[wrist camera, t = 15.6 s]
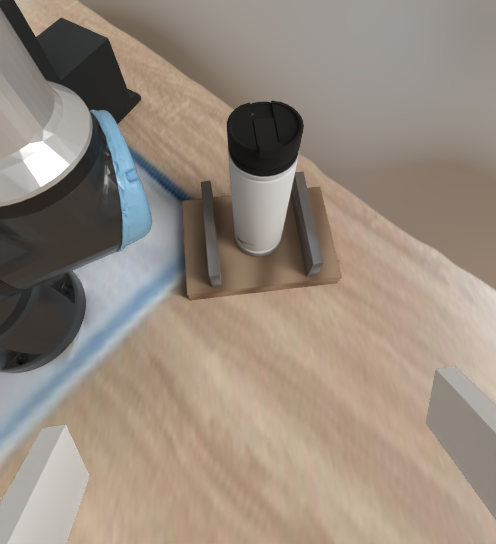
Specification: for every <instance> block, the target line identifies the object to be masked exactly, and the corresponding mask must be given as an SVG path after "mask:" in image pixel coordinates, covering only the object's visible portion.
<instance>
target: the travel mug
mask: <svg viewBox="0 0 496 544" xmlns="http://www.w3.org/2000/svg"><path fill="white" fill-rule="evenodd" d="M303 127H304V125H303V120H302V118H301V116H300V114H298V112H297V111H296V110H295V109H294V108H292V107H290V106H289V105H287V104H285V103H282V102H276V101H271V103H270V102H256V103H252V104H250V103H247V104H244V105H241V106H239V107H238V108H236V109H235V110H234V111H233V112H232V113H231V114H230V116H229V118H228V121H227V136H228V155H229V170H230V182H231V195H232V207H233V220H234V232H235V240H236V243H237V245H238V247H239V248H240V249H241V250H242V251H243V252H244V253H246V254H248V255H251V256H255V257H261V256H266V255H269V254H271V253H272V252H274V251H275V250H276V249H277V247H278V246H279V244H280V241H281V236H282V232H283V227H284V222H285V218H286V213H287V208H288V203H289V198H290V194H291V189H292V184H293V179H294V175H295V170H296V165H297V160H298V156H299V147H300V143H301V138H302V133H303Z"/></svg>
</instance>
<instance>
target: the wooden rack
mask: <svg viewBox="0 0 496 544" xmlns="http://www.w3.org/2000/svg"><path fill="white" fill-rule="evenodd" d="M201 188H202V199H194V200H185V201H182V215H183V232H184V249H185V266H186V284H187V295H188V297H189V299H190V300H196V299H205V298H213V297H222V296H230V295H239V294H248V293H256V292H265V291H273V290H282V289H290V288H299V287H308V286H316V285H325V284H333V283H337V282H338V281H339V280H340V278H341V277H342V276H341V272H340V268H339V263H338V259H337V255H336V251H335V247H334V243H333V238H332V234H331V230H330V226H329V222H328V218H327V214H326V209H325V205H324V201H323V197H322V193H321V189H320V187H312V188H307V186H306V181H305V177H304V172H295V175H294V179H293V184H292V189H291V194H290V198H289V203H288V208H287V213H286V218H285V222H284V227H283V232H282V236H281V241H280V244H279V246H278V247H277V249H276V250H275V251H274V252H272V253H271V254H269V255H266V256H261V257H255V256H251V255H248V254H246V253H244V252H243V251H242V250H241V249H240V248H239V247H238V245H237V243H236V240H235V232H234V220H233V207H232V196H224V197H214V198H213V194H212V188H211V182H210V181H204V182H201Z"/></svg>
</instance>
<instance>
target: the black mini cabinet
mask: <svg viewBox="0 0 496 544" xmlns="http://www.w3.org/2000/svg"><path fill="white" fill-rule="evenodd" d="M0 8H1V10H2V12H3V13H4V15H5V16H6V18H7V20H8V21H9V23H10V24H11V26H12V28H13V29H14V31H15V32H16V34H17V35H18V37H19V39H20V40H21V42H22V43H23V45H24V47H25V48H26V50H27V51H28V53H29V55H30V56H31V58H32V59H33V61H34V62H35V64H36V66H37V67H38V69H39V70H40V72H41V74H42V75H43V77H44V78H45V80H47V81H50V82H54V83H57V84H60V85H62V86H65V87H67V88H69V89H70V90H72V91H73V92H75V93H76V94H77V95H78V96H79V97H80V98H81V99H82V100H83V102H84V103H85V104H86V106H87V108H88V109H89V111H91V110H97V111H99V110H106V111H108V112H109V113H110V114H111V115H112V117H113V118H114V119H115V121H116V123H117V124H118V123H119V122H120V121H121V120H122V119H123V118H124V117H125V116H126V115H127V114H128V113H129V112H130V111H131V109H132V108H133V107H134V106H136V104H137V103H138V102H139V101H140V100H141V96H140V95H139V94H138V93H136V92H133V91H131V90H129V89H127V87H126V84H125V82H124V79H123V76H122V74H121V71H120V68H119V65H118V63H117V60H116V57H115V55H114V52H113V50H112V47H111V44H110V42H109V40H108V38H106V37H104V36H102V35H99V34H97V33H95V32H92V31H90V30H88V29H86V28H83V27H81V26H79V25H77V24H75V23H72V22H70V21H68V20H66V19H63V18H60V19H59V20H57V21H56V22H55V23H54V24H52V25H51V26H50V27H48V28H47V29H46V30H45V31H43V32H42V33H41V34H40V35H38V36H37V37H35V35H34V33H33V32H32V30H31V28H30V26H29V25H28V23H27V21H26V19H25V18H24V16H23V14H22V13H21V11H20V9H19V8H18V6H17V4H16V3H15V1H14V0H0Z"/></svg>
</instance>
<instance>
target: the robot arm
mask: <svg viewBox="0 0 496 544" xmlns="http://www.w3.org/2000/svg"><path fill="white" fill-rule="evenodd" d="M151 226H152V216H151V212H150V208H149V204H148V201H147V198H146V195H145V192H144V189H143V186H142V183H141V181H140V178H139V176H138V175H137V174H136V168H135V166H134V163H133V159H132V157H131V154H130V152H129V149H128V147H127V145H126V142H125V140H124V138H123V136H122V133H121V131H120V129H119V127H118V125H117V123H116V121H115V119H114V118H113V117H112V115H111V114H110V113H109V112H108V111H106V110H99V111H97V110H91V111H89V109H88V108H87V106H86V104H85V103H84V102H83V100H82V99H81V98H80V97H79V96H78V95H77V94H76V93H75V92H73V91H72V90H70V89H69V88H67V87H65V86H62V85H60V84H57V83H54V82H50V81H47V80H45V78H44V77H43V75H42V74H41V72H40V70H39V69H38V67H37V66H36V64H35V62H34V61H33V59H32V58H31V56H30V55H29V53H28V51H27V50H26V48H25V47H24V45H23V43H22V42H21V40H20V39H19V37H18V35H17V34H16V32H15V31H14V29H13V28H12V26H11V24H10V23H9V21H8V20H7V18H6V16H5V15H4V13H3V12H2V10H1V8H0V372H4V373H20V372H26V371H30V370H33V369H36V368H38V367H41V366H43V365H45V364H47V363H48V362H50V361H52V360H53V359H54V358H56V357H57V356H58V355H60V354H61V353H62V352H63V351H64V350H65V349H66V348H67V347H68V346H69V344H70V343H71V342H72V341H73V339H74V338H75V336H76V335H77V333H78V331H79V329H80V327H81V324H82V322H83V319H84V315H85V308H86V298H85V292H84V289H83V286H82V284H81V282H80V280H79V278H78V277H77V276H76V274H75V273H74V272H73V271H72V270H75V269H77V268H79V267H82V266H84V265H86V264H89V263H91V262H93V261H96V260H98V259H100V258H103V257H105V256H107V255H110V254H112V253H115V252H119V251H122V250H123V249H124V248H125V247H126V246H127V245H129V244H131V243H133V242H135V241H137V240H139V239H141V238H143V237H144V236H146V235H147V234H148V233H149V231H150V229H151ZM426 424H427V426H428V427H429V428H430V430H431V431H432V432H433V434H434V435H435V437H436V438H437V439H438V441H439V442H440V443H441V445H442V446H443V448H444V449H445V450H446V452H447V453H448V455H449V456H450V457H451V459H452V460H453V461H454V463H455V464H456V466H457V467H458V468H459V470H460V471H461V472H462V474H463V475H464V477H465V478H466V479H467V481H468V482H469V483H470V485H471V486H472V488H473V489H474V490H475V492H476V493H477V494H478V496H479V497H480V499H481V500H482V501H483V503H484V504H485V506H486V507H487V508H488V510H489V511H490V512H491V514H492V515H493V517H494V518H495V519H496V404H495V403H494V402H493V401H492V400H491V399H490V398H489V397H488V396H487V395H486V394H485V393H484V392H483V391H481V390H480V389H479V388H478V387H477V386H476V385H475V384H474V383H473V382H472V381H471V380H470V379H469V378H468V377H467V376H466V375H465V374H464V373H463V372H462V371H461V370H460V369H459V368H458V367H457V366H451V367H445V368H438V369H436V371H435V376H434V382H433V387H432V392H431V397H430V402H429V407H428V413H427V418H426ZM89 477H90V476H89V474H88V472H87V470H86V467H85V465H84V463H83V461H82V459H81V457H80V454H79V452H78V450H77V448H76V446H75V444H74V441H73V439H72V437H71V435H70V433H69V431H68V428H67V426H66V424H65V425H58V426H52V427H45V428H42V430H41V431H40V433H39V435H38V437H37V439H36V440H35V442H34V444H33V446H32V447H31V449H30V451H29V453H28V455H27V456H26V458H25V460H24V462H23V464H22V465H21V467H20V469H19V471H18V473H17V474H16V476H15V478H14V480H13V481H12V483H11V485H10V487H9V489H8V490H7V492H6V494H5V496H4V498H3V499H2V501H1V503H0V544H66V543H67V540H68V538H69V535H70V532H71V529H72V526H73V523H74V520H75V517H76V514H77V512H78V509H79V506H80V503H81V500H82V497H83V494H84V491H85V488H86V486H87V483H88V480H89Z"/></svg>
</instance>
